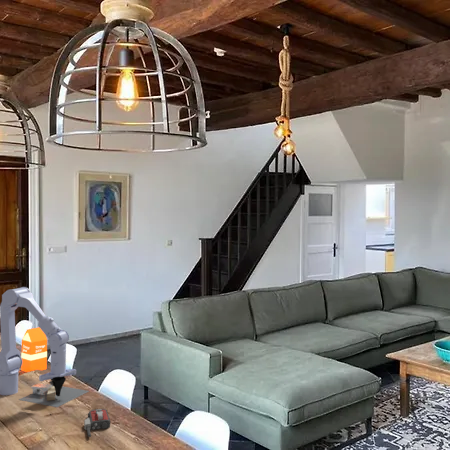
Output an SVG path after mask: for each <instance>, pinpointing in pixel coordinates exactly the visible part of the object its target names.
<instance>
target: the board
mask: <svg viewBox="0 0 450 450" xmlns="http://www.w3.org/2000/svg"><path fill="white" fill-rule="evenodd" d="M47 393H48V390H42V389H40V393H39V394H37V395H35V394H33V393H31V394H28V395H26V396H23V397H21V398H19V399H18V401H23V402H28V403H33V404H38V405H42V406H49V407H54V408H59V407H61V406H63V405H64V404H66V403H68V402H71V401H73V400H75V399H77V398H79V397H81V396H83V395H85V394H87V393H90V390H86V389H79V388H73V387H68V386H64V385H63V386H62V389H61V392H60V396H57V395H56V396H55V400H50V401H47Z"/></svg>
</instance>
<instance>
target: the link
mask: <svg viewBox="0 0 450 450" xmlns="http://www.w3.org/2000/svg"><path fill="white" fill-rule="evenodd" d="M49 385H52V387H51V388H50V389H48V393H47V401H50V400H55V396H56V391H55V387H54V385H53V383H52V381H51V380H50V381H49Z"/></svg>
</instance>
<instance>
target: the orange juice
mask: <svg viewBox="0 0 450 450" xmlns="http://www.w3.org/2000/svg"><path fill="white" fill-rule="evenodd" d="M20 356H21V358H22V366H21V367H20V370H21V371H22V372H24V373H30V372H33V371H44V370H47V366H48V365H47V363H48V337H47V336H46V335H45V334H44V332H43V331H42V330H41V329H40V327H39V326H38V327H34V328H29V329H26V331H25V333H24V335H23V337H22V339H21V352H20Z"/></svg>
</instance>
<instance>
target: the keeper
mask: <svg viewBox="0 0 450 450" xmlns="http://www.w3.org/2000/svg"><path fill="white" fill-rule="evenodd" d="M49 384H50V383H49ZM49 384H48V383H35V384H34V385H31V388H30V389H32V394H35V395H37V394H39V393H40V390H48V389H50V388H51V387H52V385H49Z"/></svg>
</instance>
